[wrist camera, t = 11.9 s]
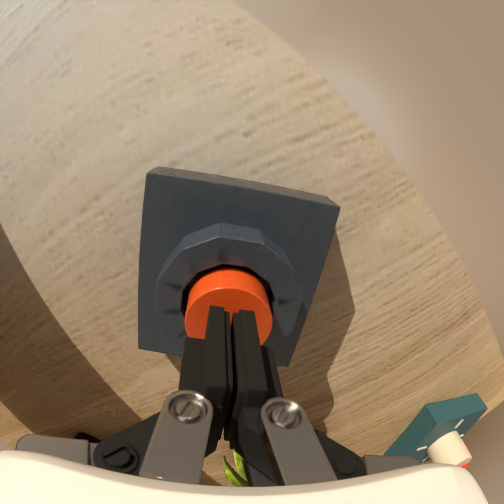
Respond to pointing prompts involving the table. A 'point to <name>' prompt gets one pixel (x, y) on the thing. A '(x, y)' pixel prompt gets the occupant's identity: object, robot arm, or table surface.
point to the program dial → (449, 450)
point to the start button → (227, 300)
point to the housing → (228, 250)
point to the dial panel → (437, 425)
